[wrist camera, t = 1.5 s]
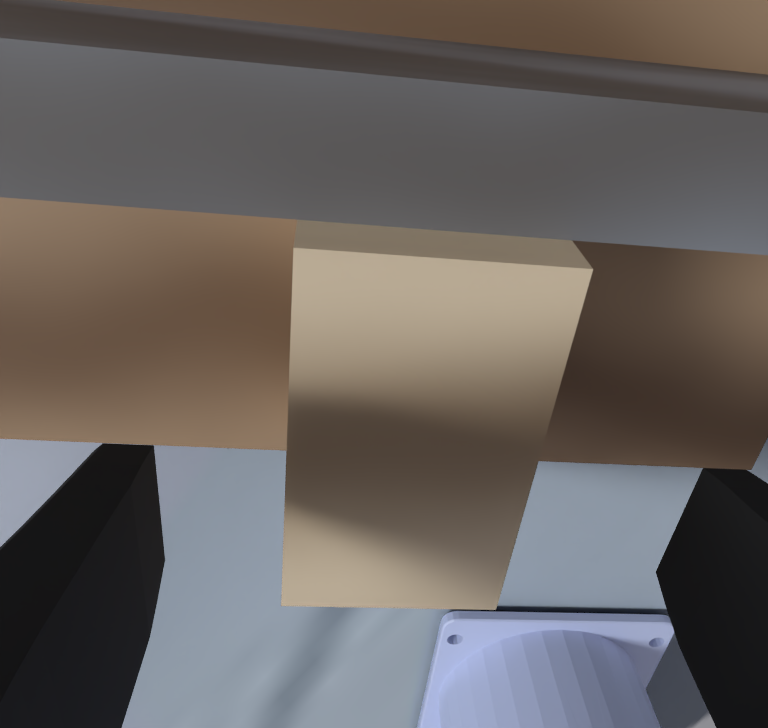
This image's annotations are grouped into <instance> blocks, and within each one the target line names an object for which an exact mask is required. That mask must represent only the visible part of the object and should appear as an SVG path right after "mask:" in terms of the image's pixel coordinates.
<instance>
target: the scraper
mask: <svg viewBox="0 0 768 728" xmlns="http://www.w3.org/2000/svg"><path fill="white" fill-rule="evenodd" d="M0 197H4V198H17V199H30V200H44V201H57V202H70V203H83V204H97V205H110V206H123V207H136V208H149V209H163V210H176V211H189V212H202V213H216V214H229V215H242V216H255V217H269V218H282V219H295V220H297V225H296V232H295V240H294V247H293V275H292V305H291V334H290V364H289V393H288V423H287V452H286V482H285V511H284V541H283V570H282V600H281V606H312V607H365V608H418V609H471V610H496V608H497V605H498V601H499V598H500V594H501V591H502V587H503V584H504V580H505V577H506V573H507V570H508V566H509V563H510V559H511V556H512V552H513V549H514V545H515V542H516V538H517V535H518V531H519V528H520V524H521V521H522V517H523V514H524V510H525V507H526V503H527V500H528V496H529V493H530V489H531V486H532V482H533V478H534V475H535V471H536V468H537V464H538V461H539V457H540V454H541V450H542V447H543V443H544V440H545V436H546V433H547V429H548V426H549V422H550V419H551V415H552V412H553V408H554V405H555V401H556V398H557V394H558V391H559V387H560V384H561V380H562V377H563V373H564V370H565V366H566V363H567V359H568V356H569V352H570V349H571V345H572V342H573V338H574V335H575V331H576V328H577V324H578V321H579V317H580V314H581V310H582V307H583V303H584V300H585V296H586V293H587V289H588V286H589V282H590V279H591V275H592V272H593V268H592V267H591V265H590V264H589V263H588V261H587V260H586V259H585V257H584V256H583V255H582V253H581V252H580V251H579V249H578V248H577V247H576V245H575V244H574V243H573V241H586V242H599V243H612V244H626V245H639V246H652V247H665V248H679V249H692V250H705V251H718V252H731V253H745V254H758V255H768V75H767V74H758V73H748V72H738V71H729V70H719V69H710V68H700V67H690V66H681V65H671V64H662V63H652V62H642V61H633V60H623V59H614V58H604V57H594V56H585V55H575V54H566V53H556V52H546V51H537V50H527V49H518V48H508V47H498V46H489V45H479V44H469V43H460V42H450V41H441V40H431V39H421V38H412V37H402V36H393V35H383V34H373V33H364V32H354V31H345V30H335V29H325V28H316V27H306V26H297V25H287V24H277V23H268V22H258V21H249V20H239V19H229V18H220V17H210V16H201V15H191V14H181V13H172V12H162V11H153V10H143V9H133V8H124V7H114V6H104V5H95V4H85V3H76V2H66V1H56V0H0ZM572 240H573V241H572Z"/></svg>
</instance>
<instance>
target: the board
mask: <svg viewBox="0 0 768 728" xmlns="http://www.w3.org/2000/svg"><path fill="white" fill-rule="evenodd" d="M56 1H66V2H76V3H85V4H95V5H104V6H114V7H124V8H133V9H143V10H153V11H162V12H172V13H181V14H191V15H201V16H210V17H220V18H229V19H239V20H249V21H258V22H268V23H277V24H287V25H297V26H306V27H316V28H325V29H335V30H345V31H354V32H364V33H373V34H383V35H393V36H402V37H412V38H421V39H431V40H441V41H450V42H460V43H469V44H479V45H489V46H498V47H508V48H518V49H527V50H537V51H546V52H556V53H566V54H575V55H585V56H594V57H604V58H614V59H623V60H633V61H642V62H652V63H662V64H671V65H681V66H690V67H700V68H710V69H719V70H729V71H738V72H748V73H758V74H767V75H768V0H56ZM296 225H297V220H295V219H282V218H269V217H255V216H242V215H229V214H216V213H202V212H189V211H176V210H163V209H149V208H136V207H123V206H110V205H97V204H83V203H70V202H57V201H44V200H30V199H17V198H4V197H0V439H23V440H47V441H71V442H95V443H119V444H143V445H167V446H191V447H215V448H239V449H263V450H287V423H288V393H289V364H290V334H291V305H292V275H293V247H294V240H295V232H296ZM572 241H573V240H572ZM573 243H574V244H575V245H576V247H577V248H578V249H579V251H580V252H581V253H582V255H583V256H584V257H585V259H586V260H587V261H588V263H589V264H590V265H591V267H592V268H593V272H592V275H591V279H590V282H589V286H588V289H587V293H586V296H585V300H584V303H583V307H582V310H581V314H580V317H579V321H578V324H577V328H576V331H575V335H574V338H573V342H572V345H571V349H570V352H569V356H568V359H567V363H566V366H565V370H564V373H563V377H562V380H561V384H560V387H559V391H558V394H557V398H556V401H555V405H554V408H553V412H552V415H551V419H550V422H549V426H548V429H547V433H546V436H545V440H544V443H543V447H542V450H541V454H540V457H539V461H551V462H575V463H599V464H623V465H647V466H671V467H695V468H719V469H744V470H752V468H753V466H754V464H755V462H756V460H757V458H758V456H759V454H760V452H761V450H762V448H763V446H764V444H765V442H766V440H767V438H768V255H758V254H745V253H731V252H718V251H705V250H692V249H679V248H665V247H652V246H639V245H626V244H612V243H599V242H586V241H573Z"/></svg>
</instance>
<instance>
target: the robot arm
mask: <svg viewBox="0 0 768 728" xmlns="http://www.w3.org/2000/svg"><path fill="white" fill-rule="evenodd" d="M164 562H165V556H164V546H163V536H162V525H161V515H160V505H159V495H158V484H157V474H156V464H155V454H154V446H153V445H129V444H104V443H103V444H102V445H101V446H99V447H98V448H97V449H96V450H94V452H93V453H92V454H91V455H90V456H89V457H88V458H87V459H86V460H85V461H84V462H83V463H82V464H81V465H80V466H79V467H78V468H77V469H76V470H75V472H74V473H73V474H72V475H71V476H70V477H69V478H68V479H67V480H66V481H65V482H64V483H63V484H62V485H61V486H60V487H59V488H58V489H57V491H56V492H55V493H54V494H53V495H52V496H51V497H50V498H49V499H48V500H47V501H46V502H45V503H44V504H43V505H42V506H41V507H40V508H39V509H38V510H37V511H36V512H35V513H34V514H33V515H32V516H31V517H30V518H29V519H28V520H27V521H26V522H25V523H24V525H23V526H22V527H21V528H20V529H18V530H17V531H16V532H15V533H14V534H13V535H12V536H11V537H10V538H9V539H8V540H7V541H6V542H5V543H4V544H3V545H2V546H1V547H0V728H121V727H122V724H123V721H124V718H125V715H126V711H127V708H128V705H129V702H130V699H131V696H132V692H133V689H134V686H135V683H136V680H137V677H138V673H139V670H140V667H141V664H142V661H143V657H144V654H145V651H146V648H147V644H148V641H149V638H150V633H151V629H152V624H153V619H154V614H155V609H156V604H157V599H158V594H159V589H160V583H161V578H162V573H163V567H164ZM656 574H657V577H658V581H659V584H660V588H661V591H662V594H663V598H664V601H665V605H666V608H667V611H668V614H669V617H668V616H666V615H661V614H608V613H554V612H500V611H452V612H449V613H447V614H446V615H445V616H443V618H442V620H441V623H440V627H439V632H438V636H437V640H436V645H435V649H434V654H433V658H432V663H431V667H430V672H429V676H428V681H427V685H426V690H425V694H424V699H423V703H422V707H421V712H420V716H419V721H418V725H417V728H661V727H660V724H659V722H658V719H657V717H656V714H655V712H654V710H653V707H652V705H651V702H650V700H649V697H648V695H647V692H646V690H645V689H646V688H647V686H648V684H649V682H650V680H651V678H652V676H653V674H654V672H655V670H656V668H657V666H658V664H659V662H660V660H661V658H662V656H663V654H664V652H665V650H666V648H667V646H668V644H669V642H670V640H671V638H672V636H673V634H674V632H675V635H676V638H677V641H678V644H679V646H680V649H681V651H682V653H683V656H684V658H685V660H686V662H687V665H688V667H689V669H690V671H691V673H692V676H693V678H694V680H695V682H696V684H697V687H698V689H699V691H700V693H701V695H702V698H703V700H704V702H705V704H706V706H707V708H708V711H709V713H710V715H711V717H712V719H713V721H714V723H715V726H716V728H768V484H767V483H766V482H764V481H763V480H761V479H760V478H758V477H757V476H755V475H754V474H752V473H751V472H749V471H747V470H743V469H719V468H703V470H702V472H701V474H700V476H699V478H698V481H697V483H696V485H695V487H694V489H693V492H692V494H691V496H690V498H689V500H688V503H687V505H686V507H685V509H684V511H683V514H682V516H681V518H680V520H679V522H678V524H677V527H676V529H675V531H674V533H673V535H672V538H671V540H670V542H669V544H668V546H667V549H666V551H665V553H664V555H663V557H662V560H661V562H660V564H659V566H658V568H657V571H656Z"/></svg>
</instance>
